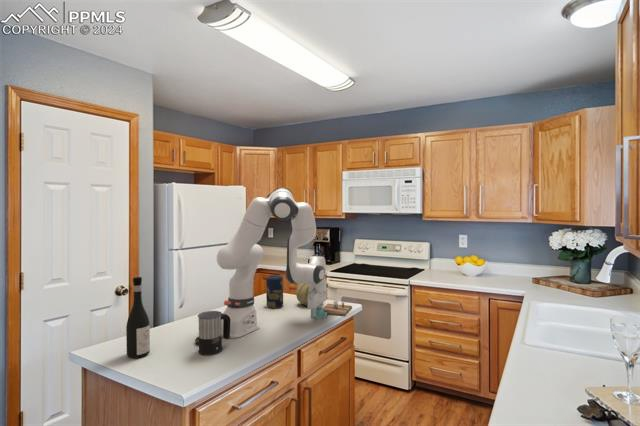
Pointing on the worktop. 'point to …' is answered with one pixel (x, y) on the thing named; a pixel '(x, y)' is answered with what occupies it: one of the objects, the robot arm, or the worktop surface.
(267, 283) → the canister
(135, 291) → the wine bottle
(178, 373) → the worktop surface
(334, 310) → the board
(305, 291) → the cantaloupe
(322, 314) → the teal frame with handle
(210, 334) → the milk frother
